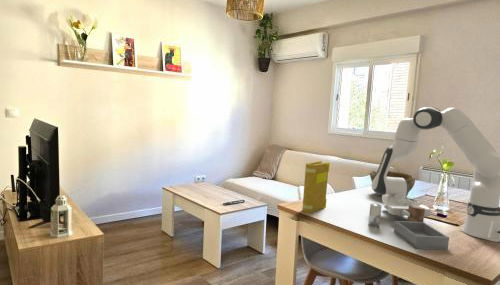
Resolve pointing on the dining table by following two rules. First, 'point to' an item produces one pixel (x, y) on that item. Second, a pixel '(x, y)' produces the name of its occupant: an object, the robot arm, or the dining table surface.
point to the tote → (421, 235)
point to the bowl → (407, 177)
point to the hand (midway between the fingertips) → (416, 215)
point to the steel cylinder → (374, 215)
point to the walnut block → (416, 213)
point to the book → (315, 186)
